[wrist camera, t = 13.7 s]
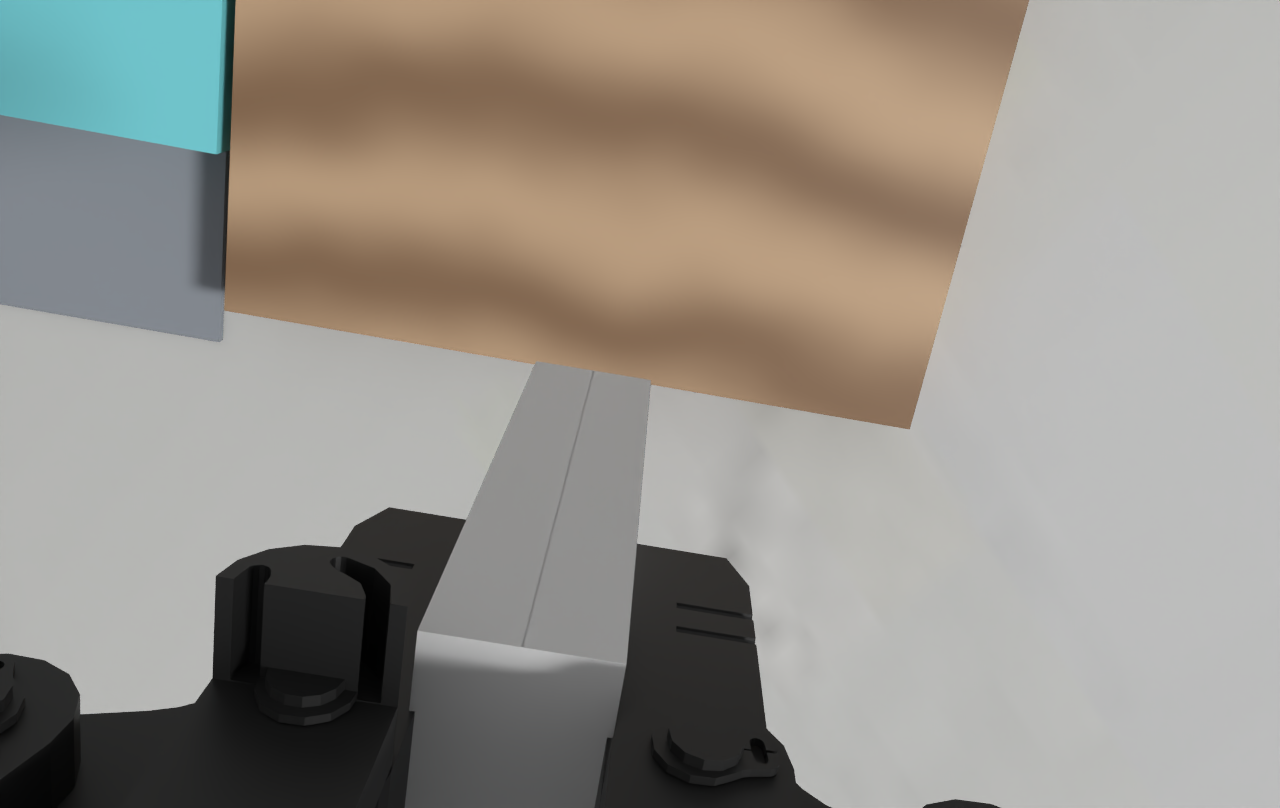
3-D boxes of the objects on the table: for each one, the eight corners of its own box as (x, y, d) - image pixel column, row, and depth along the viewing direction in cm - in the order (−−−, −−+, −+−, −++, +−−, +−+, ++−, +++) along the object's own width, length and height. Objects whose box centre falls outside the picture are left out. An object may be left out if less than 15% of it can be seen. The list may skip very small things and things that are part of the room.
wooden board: (895, 404, 40) (909, 429, 37) (251, 292, 39) (224, 310, 37) (1021, -59, 34) (1046, -65, 32) (274, -198, 33) (243, -214, 31)
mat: (222, 339, 40) (219, 342, 39) (-184, 269, 39) (-190, 271, 39) (245, -277, 33) (241, -279, 32) (-248, -369, 32) (-256, -373, 32)
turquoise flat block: (239, 147, 37) (216, 154, 35) (-21, 99, 37) (-59, 104, 35) (248, -38, 35) (224, -41, 33) (-28, -90, 35) (-69, -96, 33)
